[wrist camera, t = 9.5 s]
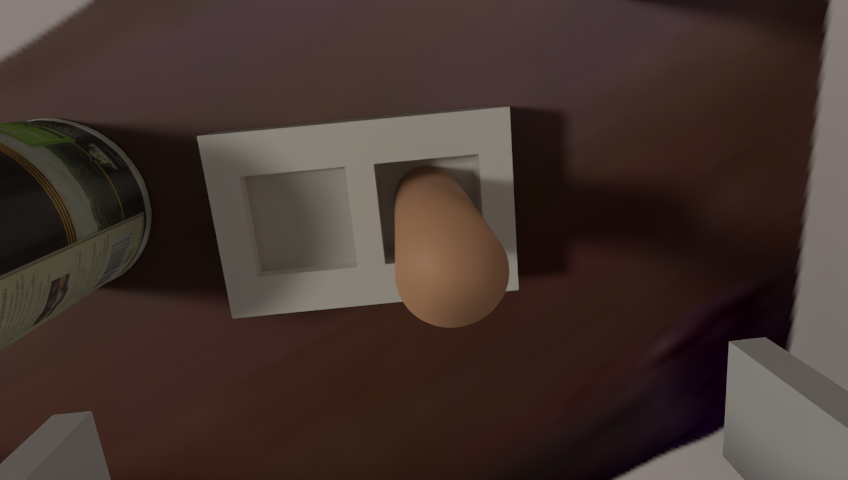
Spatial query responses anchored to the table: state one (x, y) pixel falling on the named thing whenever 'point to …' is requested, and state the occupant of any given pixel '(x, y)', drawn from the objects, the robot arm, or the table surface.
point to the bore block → (342, 202)
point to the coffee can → (63, 219)
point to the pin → (445, 251)
